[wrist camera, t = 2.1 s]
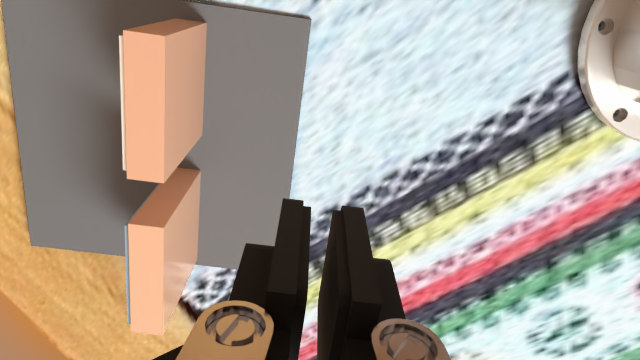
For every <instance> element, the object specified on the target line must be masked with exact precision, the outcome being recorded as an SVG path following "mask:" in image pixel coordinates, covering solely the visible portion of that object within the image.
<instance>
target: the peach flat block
mask: <svg viewBox="0 0 640 360" xmlns="http://www.w3.org/2000/svg"><path fill="white" fill-rule="evenodd" d="M200 180H201V170H193V169H185V168H178V167H177V168H176V169H175V170H174V172H173V173H172V174H171V175H170V177H169V178H168V179H167V180H166V182H165V183H159V184H158V185H157V186H156V187H155V189H154V190H153V191H152V192H151V194H150V195H149V196H148V197H147V199H146V200H145V201H144V202H143V203H142V205H141V206H140V207H139V208H138V210H137V211H136V212H135V213H134V214H133V216H132V217H131V218H130V219H129V221H128V222H127V223H126V224H125V257H126V291H127V324H131V332H136V333H145V334H154V335H163V334H164V332H165V330H166V327H167V325H168V323H169V321H170V319H171V316H172V314H173V312H174V310H175V307H176V305H177V303H178V301H179V298H180V296H181V294H182V292H183V290H184V287H185V285H186V283H187V281H188V278H189V276H190V274H191V272H192V270H193V267H194V265H195V263H196V261H197V254H198V229H199V205H200Z"/></svg>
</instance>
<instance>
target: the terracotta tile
mask: <svg viewBox="0 0 640 360" xmlns="http://www.w3.org/2000/svg"><path fill="white" fill-rule="evenodd" d="M206 33H207V23H206V22H199V21H192V20H185V19H178V18H175V19H171V20H166V21H162V22H157V23H153V24H148V25H144V26H139V27H135V28H130V29H126V30H123V35H120V36H119V54H120V88H121V121H122V155H123V170H126V171H127V179H132V180H140V181H148V182H156V183H165V182H166V180H167V179H168V178H169V177H170V175H171V174H172V173H173V172H174V170H175V169H176V168H177V166H178V165H179V164H180V163H181V161H182V160H183V159H184V158H185V156H186V155H187V154H188V153H189V151H190V150H191V149H192V147H193V146H194V145H195V144H196V142H197V141H198V140H199V139H200V137H201V136H202V131H203V107H204V82H205V58H206Z"/></svg>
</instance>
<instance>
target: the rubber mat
mask: <svg viewBox="0 0 640 360" xmlns="http://www.w3.org/2000/svg"><path fill="white" fill-rule="evenodd" d="M1 1H2V10H3V18H4V26H5V35H6V43H7V51H8V60H9V68H10V76H11V85H12V93H13V101H14V109H15V118H16V126H17V134H18V143H19V151H20V159H21V168H22V176H23V184H24V192H25V201H26V209H27V217H28V226H29V234H30V242H31V246H39V247H48V248H57V249H65V250H74V251H83V252H91V253H100V254H109V255H117V256H125V224H126V223H127V222H128V221H129V219H130V218H131V217H132V216H133V214H134V213H135V212H136V211H137V210H138V208H139V207H140V206H141V205H142V203H143V202H144V201H145V200H146V199H147V197H148V196H149V195H150V194H151V192H152V191H153V190H154V189H155V187H156V186H157V185H158V184H159V183H156V182H148V181H140V180H132V179H127V171H126V170H123V155H122V121H121V88H120V54H119V36H120V35H123V30H126V29H130V28H135V27H139V26H144V25H148V24H153V23H157V22H162V21H166V20H171V19H175V18H178V19H185V20H192V21H199V22H206V23H207V33H206V58H205V82H204V107H203V131H202V136H201V137H200V139H199V140H198V141H197V142H196V144H195V145H194V146H193V147H192V149H191V150H190V151H189V153H188V154H187V155H186V156H185V158H184V159H183V160H182V161H181V163H180V164H179V165H178V166H177V167H178V168H185V169H193V170H201V180H200V205H199V229H198V254H197V261H196V263H195V265H204V266H213V267H221V268H230V269H238V268H239V265H240V261H241V258H242V254H243V251H244V247H245V244H246V243H251V244H260V245H268V246H275V241H276V235H277V229H278V224H279V218H280V212H281V206H282V201H283V198H286V199H289V197H290V189H291V180H292V172H293V164H294V156H295V148H296V140H297V132H298V124H299V116H300V107H301V99H302V91H303V83H304V75H305V67H306V59H307V51H308V43H309V34H310V26H311V19H305V18H298V17H291V16H284V15H278V14H271V13H264V12H257V11H250V10H243V9H237V8H230V7H223V6H216V5H209V4H203V3H196V2H189V1H182V0H1Z"/></svg>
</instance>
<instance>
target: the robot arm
mask: <svg viewBox="0 0 640 360" xmlns="http://www.w3.org/2000/svg"><path fill="white" fill-rule="evenodd" d="M600 22H601V27H600V28H599V29H598V25H599V24H600ZM578 74H579V80H580V85H581V89H582V92H583V94H584V96H585V98H586V101H587V103H588V105H589V106H590V108H591V109H592V110H593V112H594V113H595V114H596V116H597V117H598V118H599V119H600V120H601V121H602V122H604V123H605V124H606V125H607V126H608V127H610V128H611V129H613V130H615V131H617V132H619V133H620V134H622V135H624V136H626V137H629V138H631V139H634V140H637V141H640V0H595V1H594V2H593V4H592V6H591V8H590V10H589V13H588V16H587V18H586V21H585V23H584V26H583V28H582V33H581V38H580V43H579V48H578ZM310 221H311V207H306V206H303V201H302V200H294V199H286V198H283V201H282V206H281V212H280V218H279V224H278V229H277V235H276V241H275V246H268V245H260V244H251V243H246V244H245V247H244V251H243V254H242V258H241V261H240V265H239V268H238V271H237V275H236V278H235V282H234V285H233V289H232V292H231V296H230V299H229V301H225V302H221V303H218V304H215V305H212V306H211V307H209V308H208V309H206V310H205V311H204V312H203V313H202V314H201V315H200V317H199V318H198V320H197V322H196V323H195V325H194V327H193V329H192V331H191V333H190V334H189V336H188V338H187V340H186V342H185V344H184V345H182V346H180V347H178V348H176V349H173V350H171V351H169V352H167V353H165V354H163V355H161V356H159V357H157V358H155V359H152V360H298V355H299V349H300V342H301V336H302V329H303V323H304V316H305V309H306V302H307V292H308V270H309V245H310ZM317 360H451V359H450V357H449V355H448V352H447V350H446V348H445V346H444V344H443V343H442V341H441V340H440V339H439V337H438V336H437V335H436V334H435V333H434V332H432V331H431V330H430V329H429V328H427V327H425V326H423V325H421V324H420V323H417V322H414V321H411V320H406V319H405V315H404V311H403V307H402V303H401V299H400V295H399V291H398V287H397V284H396V280H395V276H394V272H393V268H392V264H391V262H390V260H386V259H378V258H373V256H372V250H371V245H370V240H369V235H368V230H367V225H366V220H365V214H364V209H363V208H358V207H350V206H342V207H341V211H338V210H333V214H332V220H331V226H330V232H329V238H328V244H327V250H326V256H325V262H324V268H323V274H322V280H321V286H320V292H319V299H318V341H317Z"/></svg>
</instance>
